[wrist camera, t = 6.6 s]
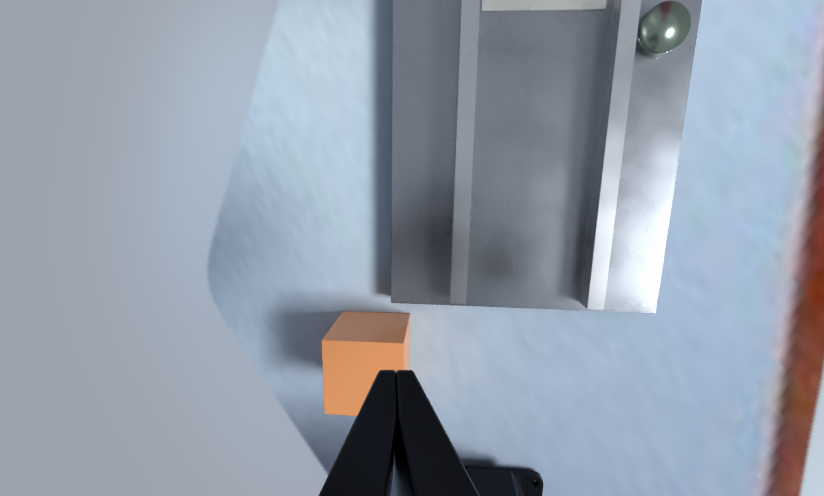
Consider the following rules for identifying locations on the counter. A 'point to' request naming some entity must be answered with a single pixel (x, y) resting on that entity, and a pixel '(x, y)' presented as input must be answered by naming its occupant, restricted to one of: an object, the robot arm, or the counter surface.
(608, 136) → the panel
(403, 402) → the robot arm
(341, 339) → the orange cube
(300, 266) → the counter surface
